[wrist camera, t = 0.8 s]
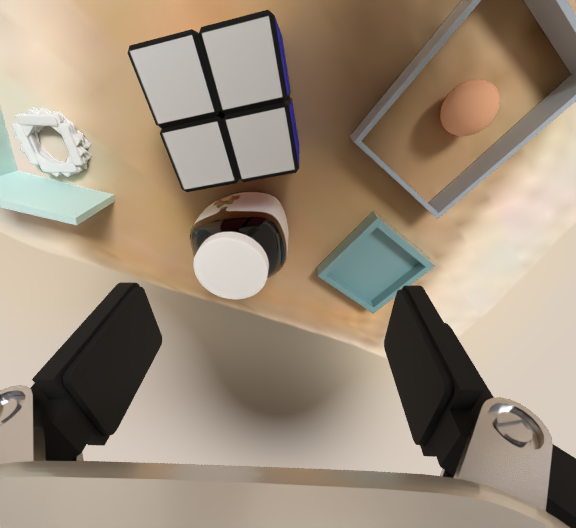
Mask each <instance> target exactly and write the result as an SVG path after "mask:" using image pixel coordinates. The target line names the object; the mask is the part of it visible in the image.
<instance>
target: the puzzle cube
mask: <svg viewBox="0 0 576 528" xmlns="http://www.w3.org/2000/svg"><path fill="white" fill-rule="evenodd" d="M128 55H129V58H130V60H131V63H132V65H133V68H134V70H135V73H136V75H137V78H138V80H139V83H140V85H141V88H142V90H143V93H144V95H145V98H146V100H147V103H148V105H149V108H150V110H151V113H152V115H153V118H154V120H155V123H156V125H158V126H159V127H161V128H162V129H161V132H160V135H161V138H162V140H163V143H164V145H165V148H166V150H167V153H168V155H169V158H170V160H171V163H172V165H173V168H174V170H175V173H176V175H177V178H178V180H179V183H180V185H181V188H182V189H183V190H184V191H186V192H190V191H196V190H201V189H207V188H212V187H218V186H223V185H229V184H234V183H237V181H238V180H239V179H240V180H241V181H243V182H247V181H252V180H258V179H263V178H269V177H274V176H280V175H285V174H291V173H296V172H297V170H298V169H299V141H298V135H297V128H296V122H295V116H294V109H293V103H292V99H291V98H290V97H288V96H289V94H290V92H291V91H290V84H289V78H288V72H287V65H286V59H285V53H284V46H283V40H282V35H281V32H280V29H279V26H278V24H277V21H276V19H275V16H274V15H273V14H272V13H271V12H270V11H269V10H265V11H262V12H258V13H254V14H250V15H246V16H242V17H239V18H235V19H231V20H227V21H223V22H220V23H216V24H212V25H208V26H204V27H201V29H200V32H199V33H198V32H196V31H194V30H188V31H184V32H180V33H176V34H173V35H169V36H165V37H161V38H157V39H153V40H150V41H146V42H142V43H138V44H134V45H131V46H129V50H128Z"/></svg>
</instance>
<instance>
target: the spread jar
mask: <svg viewBox="0 0 576 528" xmlns="http://www.w3.org/2000/svg"><path fill="white" fill-rule="evenodd" d="M190 240H191V246H192V250H193V254H194V262H193V266H194V272H195V275H196V277H197V279H198V281H199V282H200V283H201V285H202V286H203V287H204V288H206V289H207V290H208V291H209V292H211V293H213V294H214V295H217V296H219V297H222V298H226V299H233V300H235V299H245V298H248V297H251V296H253V295H255V294H256V293H258V292H259V291H260V290H261V289H262V288H263V286H264V285H265V283H266V280H267V278H269V277H271V276H273V275H274V274H275V273H277V272H278V271H279V270H280V269H281V268H282V267H283V265H284V263H285V261H286V258H287V253H288V241H289V231H288V223H287V218H286V215H285V212H284V209H283V207H282V205H281V203H280V202H279V201H278V200H277V198H275V197H274V196H272V195H269V194H266V193H262V192H250V191H249V192H239V193H235V194H232V195H229V196H226V197H224V198H222V199H219V200H217V201H215V202H214V203H212V204H211V205H209V206H208V207H207V208H206V209H205V210H204V211H203V212H202V213H201V214H200V216H199V217H198V218H197V220H196V221H195V223H194V224H193V226H192V229H191V233H190Z"/></svg>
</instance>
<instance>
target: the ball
mask: <svg viewBox="0 0 576 528" xmlns="http://www.w3.org/2000/svg"><path fill="white" fill-rule="evenodd" d="M499 104H500V97H499V93H498V90H497V89H496V87H495V86H494V85H493V84H492V83H490V82H488V81H486V80H481V79H474V80H469V81H466V82H464V83H462V84H460V85H458V86H457V87H456V88H454V89H453V90H452V91H451V92H450V93H449V94H448V96H447V97H446V99H445V100H444V102H443V104H442V107H441V112H440V118H441V123H442V125H443V127H444V128H445V129H446V130H447V131H448V132H449V133H451V134H453V135H456V136H469V135H472V134H475V133H477V132H479V131H481V130H482V129H484V128H485V127H486V126H487V125H489V123H490V122H491V121H492V120H493V119H494V117H495V115H496V113H497V111H498V108H499Z"/></svg>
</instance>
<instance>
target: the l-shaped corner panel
mask: <svg viewBox="0 0 576 528" xmlns="http://www.w3.org/2000/svg"><path fill="white" fill-rule="evenodd" d="M15 117H16V119H17V121H18V122H19V123H17V124H12V127H13V129H14V131H15V135H14V137H15V138H16V139H17V140H19V142H20V144H21V148H20V150H21V151H23V152H24V153H25V154H26V156H27V158H28V160H29V162H30V163H31V164H39V166H40V168H41V169H42V171H43V172H50V173H52V174H53V175H54V176H56V177H57V176H59V175H61V174H64V175H65V176H67V177H69V176H70V175H71V176H72V175H73V174H74V173H80V171H83V169H87V162H88V160H89V159H90V158H91V156H92V155H91V154H90V153H89V152H88V151H87V150H85V149H88V148H89V147H90V146H91V144H90V143H89V142H88V141H87V140H86V139H85V138H84V135H83V133H82V132H79V131H78V130H77V129H76V128H75V127H74V125H73V123H72V122H70V121H68V120H67V119H66V118H65V117H64V116H63V115H62V114H61V112H59V111H57V112H55V111H53V112H50V111H49V110H48V109H46V108H40V109H39V110H38V109H37V108H35V107H33V108H32V110H31V109H29V110H28V111H27V113H20V114H16V115H15ZM45 126H51V127H52V128H54V129H55V130H56V131H57V132H58V133H60V134H61V135H62V137H63V140H64V142H65V144H66V147H67V149H68V152H69V156H68V158H67V159H66V161H65V162H63V161H59V160H56V159H55V158H54V157H53V156H51V155H50V154H49V153H48V152H47V151H46V150H45V149H44V148H43V147H42V146H41V145H40V142H39V137H38V133H39V132H40V131H41V130H42V129H43V128H44V127H45ZM114 201H115V199H114V194H110V193H106V192H102V191H98V190H94V189H90V188H86V187H82V186H78V185H74V184H70V183H66V182H62V181H58V180H54V179H50V178H46V177H42V176H38V175H34V174H30V173H26V172H22V171H18V170H17V166H16V162H15V158H14V155H13V151H12V147H11V144H10V140H9V136H8V132H7V129H6V125H5V121H4V117H3V114H2V110H1V106H0V207H1V208H5V209H9V210H13V211H18V212H22V213H26V214H30V215H35V216H39V217H43V218H47V219H52V220H56V221H60V222H64V223H68V224H73V225H78V224H80V223H82V222H83V221H85V220H86V219H88V218H89V217H91V216H92V215H94V214H96V213H97V212H99V211H100V210H102V209H103V208H105V207H107V206H108V205H110V204H111V203H113V202H114Z"/></svg>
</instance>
